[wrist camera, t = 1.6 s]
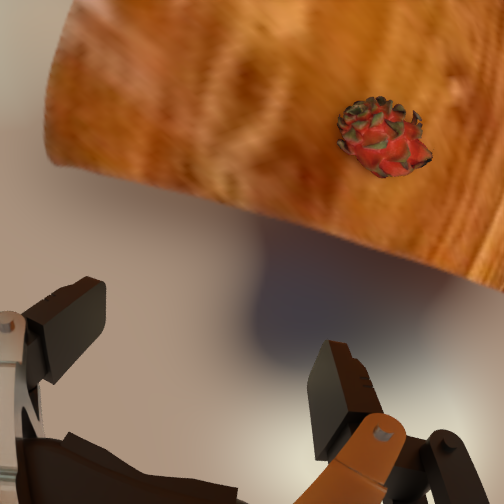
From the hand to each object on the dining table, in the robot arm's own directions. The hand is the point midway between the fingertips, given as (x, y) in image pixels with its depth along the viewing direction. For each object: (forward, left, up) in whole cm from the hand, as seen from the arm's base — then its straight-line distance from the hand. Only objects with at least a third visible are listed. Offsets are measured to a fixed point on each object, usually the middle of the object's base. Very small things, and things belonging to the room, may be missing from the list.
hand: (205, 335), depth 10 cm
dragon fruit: (-9, +10, -28) cm, 32 cm away
